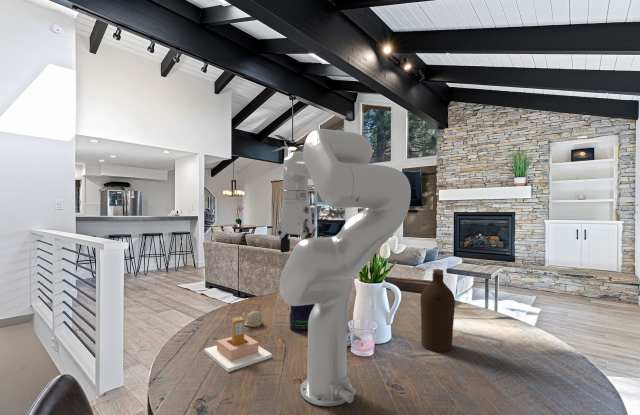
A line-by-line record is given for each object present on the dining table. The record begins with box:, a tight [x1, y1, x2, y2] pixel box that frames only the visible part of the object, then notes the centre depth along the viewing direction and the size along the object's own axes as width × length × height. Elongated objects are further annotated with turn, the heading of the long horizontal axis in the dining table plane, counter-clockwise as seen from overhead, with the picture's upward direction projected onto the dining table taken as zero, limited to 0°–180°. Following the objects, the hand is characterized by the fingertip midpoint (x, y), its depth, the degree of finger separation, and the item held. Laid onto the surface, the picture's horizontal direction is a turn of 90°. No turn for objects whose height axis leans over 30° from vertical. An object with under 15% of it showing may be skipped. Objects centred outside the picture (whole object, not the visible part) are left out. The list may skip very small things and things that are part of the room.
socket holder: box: [203, 333, 273, 373], centre depth 102 cm, size 16×14×4 cm
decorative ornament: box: [242, 310, 263, 328], centre depth 127 cm, size 4×8×5 cm, turn 124°
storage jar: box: [289, 304, 315, 334], centre depth 125 cm, size 10×10×15 cm
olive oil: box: [420, 268, 456, 353], centre depth 111 cm, size 11×11×25 cm
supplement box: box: [231, 316, 245, 346], centre depth 102 cm, size 3×3×10 cm
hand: (295, 253), depth 103 cm, fingers open, 9 cm apart
